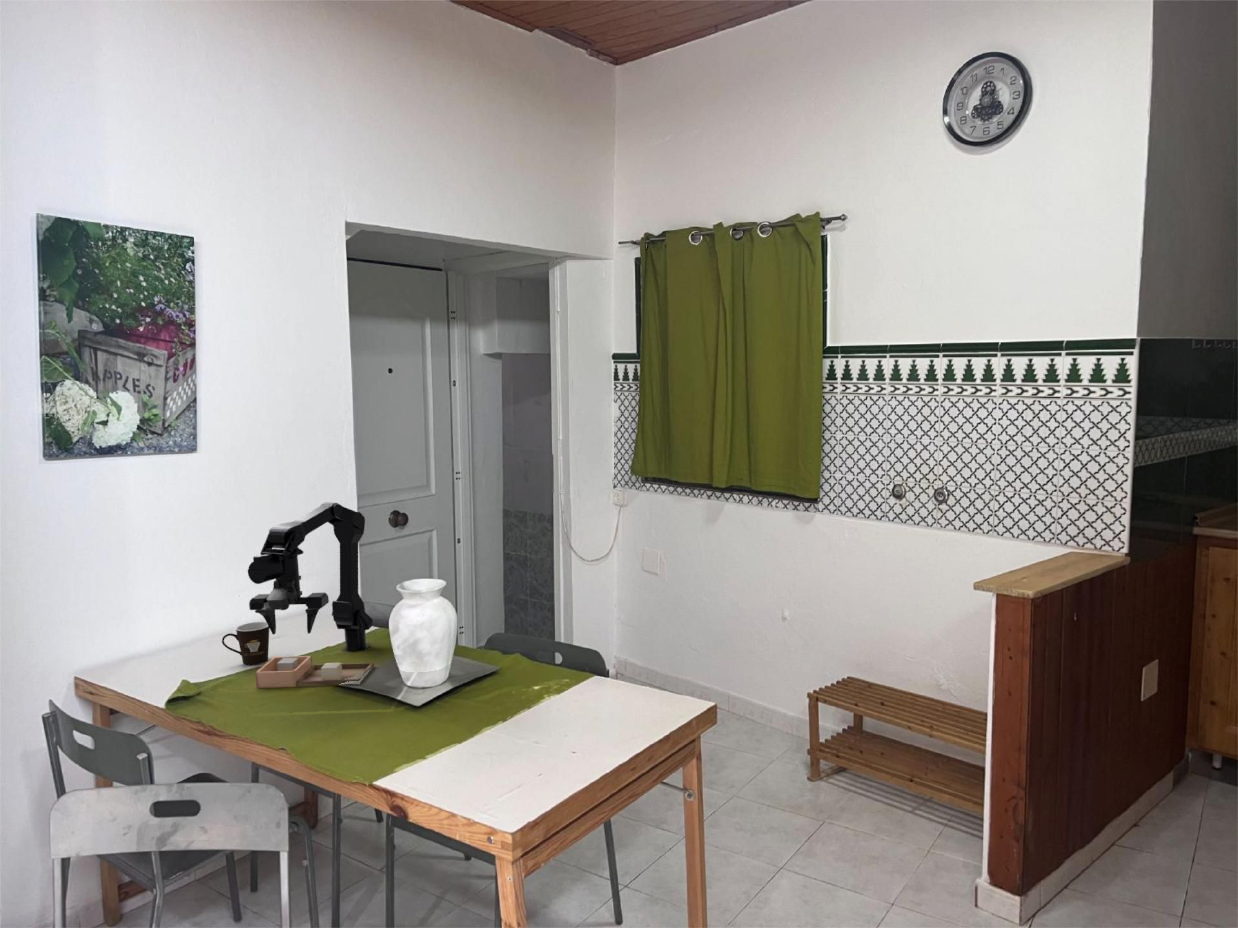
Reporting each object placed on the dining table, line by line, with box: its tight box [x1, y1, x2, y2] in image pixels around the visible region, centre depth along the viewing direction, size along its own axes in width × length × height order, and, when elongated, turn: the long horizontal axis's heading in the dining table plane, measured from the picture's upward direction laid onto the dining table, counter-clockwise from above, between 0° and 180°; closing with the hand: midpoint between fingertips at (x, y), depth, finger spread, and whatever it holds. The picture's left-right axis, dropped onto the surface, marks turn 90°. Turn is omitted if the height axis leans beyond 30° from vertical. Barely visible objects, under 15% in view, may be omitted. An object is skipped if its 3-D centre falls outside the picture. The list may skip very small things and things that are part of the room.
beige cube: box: [321, 662, 343, 680], centre depth 229 cm, size 4×4×4 cm
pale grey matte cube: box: [277, 658, 299, 671], centre depth 234 cm, size 4×4×4 cm
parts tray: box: [296, 662, 375, 688], centre depth 232 cm, size 13×16×2 cm
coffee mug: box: [221, 621, 270, 666], centre depth 248 cm, size 12×9×10 cm
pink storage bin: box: [255, 655, 313, 689], centre depth 231 cm, size 12×10×4 cm
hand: (291, 633), depth 232 cm, fingers open, 9 cm apart
